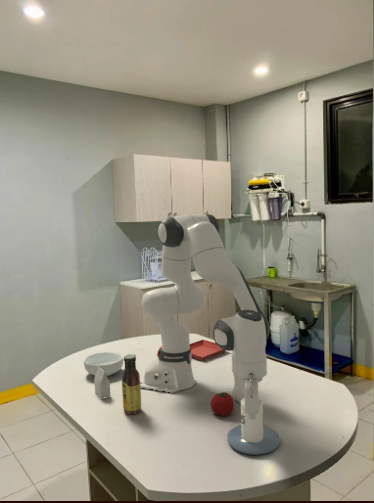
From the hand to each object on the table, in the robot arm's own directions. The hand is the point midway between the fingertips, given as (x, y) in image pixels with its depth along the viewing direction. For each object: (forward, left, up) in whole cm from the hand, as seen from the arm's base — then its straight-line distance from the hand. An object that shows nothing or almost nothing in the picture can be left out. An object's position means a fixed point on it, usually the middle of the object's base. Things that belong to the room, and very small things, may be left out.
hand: (252, 413), depth 117 cm
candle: (0, 0, -7) cm, 7 cm away
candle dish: (0, 0, -9) cm, 9 cm away
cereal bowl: (-66, +44, -9) cm, 80 cm away
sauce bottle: (-42, +13, -9) cm, 45 cm away
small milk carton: (-58, +24, -9) cm, 63 cm away
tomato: (-11, +16, -9) cm, 21 cm away
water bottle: (-5, +26, -9) cm, 28 cm away
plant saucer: (-28, +74, -9) cm, 80 cm away
